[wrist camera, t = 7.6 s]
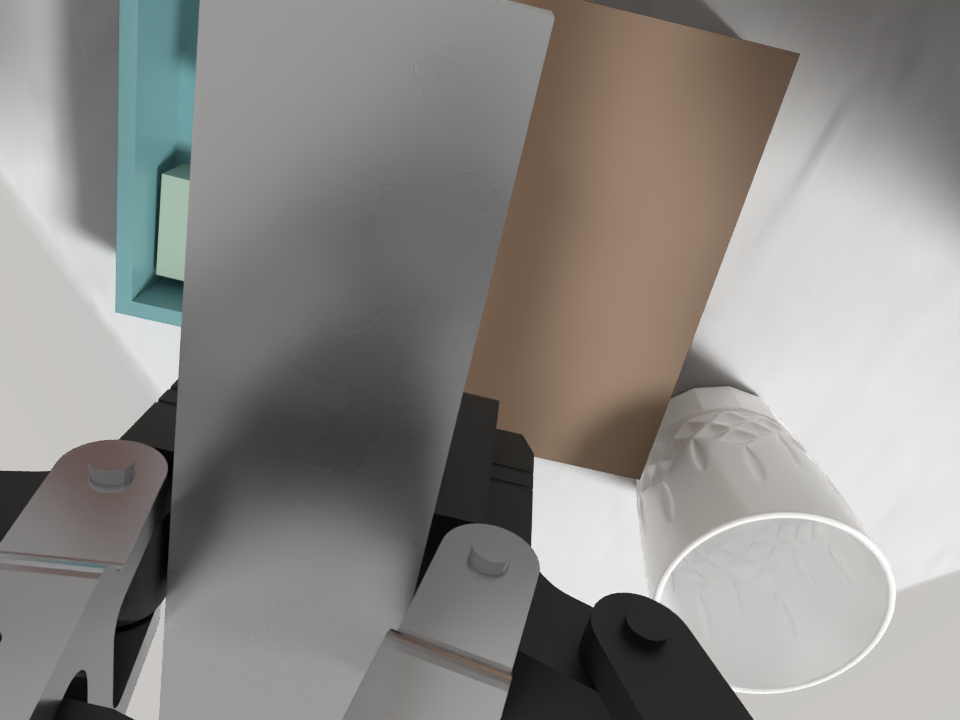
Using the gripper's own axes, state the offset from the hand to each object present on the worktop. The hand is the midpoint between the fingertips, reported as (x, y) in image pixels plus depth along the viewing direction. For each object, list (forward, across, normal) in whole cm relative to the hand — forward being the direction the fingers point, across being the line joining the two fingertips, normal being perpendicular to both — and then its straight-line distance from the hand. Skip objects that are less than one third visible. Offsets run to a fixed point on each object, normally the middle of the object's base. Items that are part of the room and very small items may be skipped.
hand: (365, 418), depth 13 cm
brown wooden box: (+19, -2, 0) cm, 19 cm away
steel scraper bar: (+1, 0, 0) cm, 1 cm away
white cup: (+19, -13, +9) cm, 25 cm away
